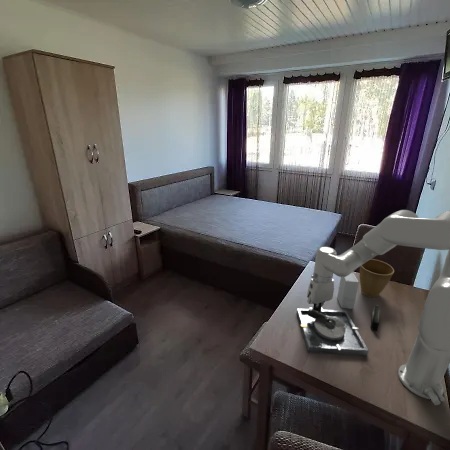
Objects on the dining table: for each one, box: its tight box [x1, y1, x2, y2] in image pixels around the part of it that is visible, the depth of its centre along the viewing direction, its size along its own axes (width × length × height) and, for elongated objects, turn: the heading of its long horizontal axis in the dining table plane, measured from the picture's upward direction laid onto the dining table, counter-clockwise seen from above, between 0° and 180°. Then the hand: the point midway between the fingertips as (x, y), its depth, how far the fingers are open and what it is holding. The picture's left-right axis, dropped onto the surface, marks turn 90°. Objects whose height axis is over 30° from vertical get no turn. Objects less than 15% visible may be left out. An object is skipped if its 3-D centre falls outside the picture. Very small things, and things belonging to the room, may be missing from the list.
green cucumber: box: [370, 305, 381, 332], centre depth 117 cm, size 5×3×15 cm
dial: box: [308, 307, 346, 341], centre depth 110 cm, size 16×12×6 cm
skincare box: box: [336, 272, 360, 310], centre depth 126 cm, size 8×6×15 cm
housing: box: [296, 307, 370, 356], centre depth 110 cm, size 23×23×3 cm
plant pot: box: [359, 258, 395, 298], centre depth 133 cm, size 15×15×16 cm
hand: (316, 312), depth 115 cm, fingers closed
